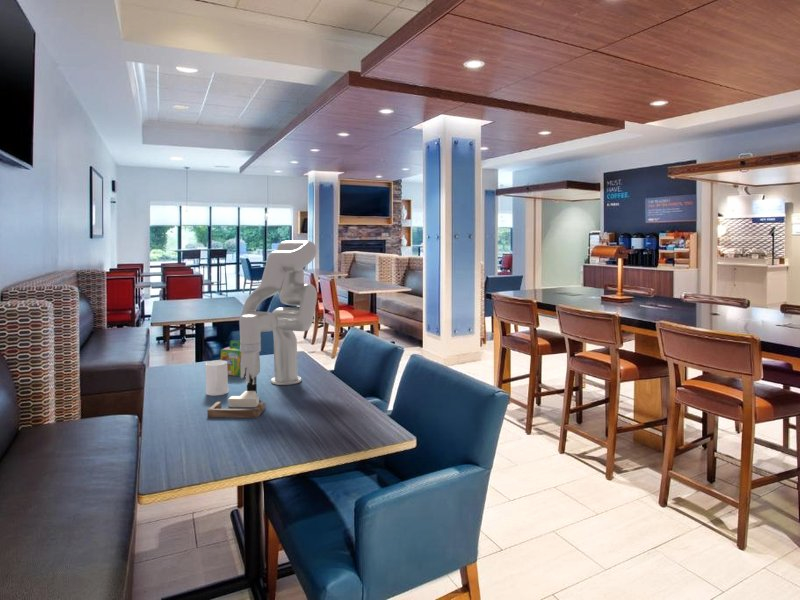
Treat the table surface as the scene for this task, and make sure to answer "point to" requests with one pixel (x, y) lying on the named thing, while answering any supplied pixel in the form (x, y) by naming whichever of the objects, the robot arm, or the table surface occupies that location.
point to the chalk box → (232, 358)
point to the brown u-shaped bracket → (235, 411)
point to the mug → (216, 378)
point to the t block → (244, 400)
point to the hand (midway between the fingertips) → (252, 394)
